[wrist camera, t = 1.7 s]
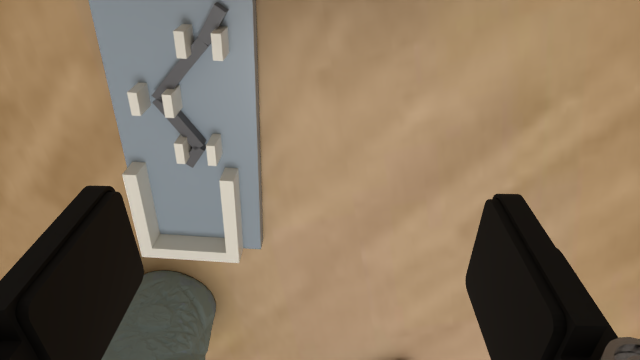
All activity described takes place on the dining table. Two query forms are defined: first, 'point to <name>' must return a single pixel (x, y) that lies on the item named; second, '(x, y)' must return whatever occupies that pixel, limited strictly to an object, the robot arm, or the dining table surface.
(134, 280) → the robot arm
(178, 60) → the board
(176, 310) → the teal cup
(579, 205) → the dining table surface
